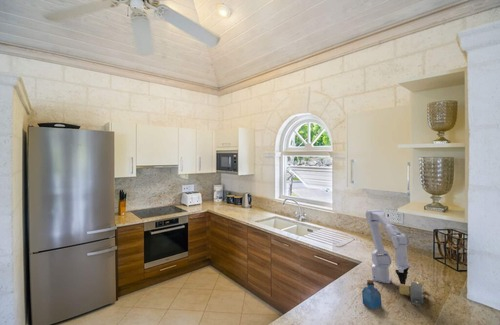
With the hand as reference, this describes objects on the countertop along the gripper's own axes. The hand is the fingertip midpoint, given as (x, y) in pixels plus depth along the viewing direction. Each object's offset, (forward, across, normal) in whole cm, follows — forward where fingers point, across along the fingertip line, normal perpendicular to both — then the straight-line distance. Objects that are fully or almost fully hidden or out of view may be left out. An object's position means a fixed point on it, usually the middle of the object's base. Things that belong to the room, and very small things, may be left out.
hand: (403, 281), depth 131 cm
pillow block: (+8, 0, -6) cm, 10 cm away
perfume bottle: (+8, -19, +13) cm, 24 cm away
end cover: (+8, 0, -3) cm, 8 cm away
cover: (+8, +11, -6) cm, 15 cm away
